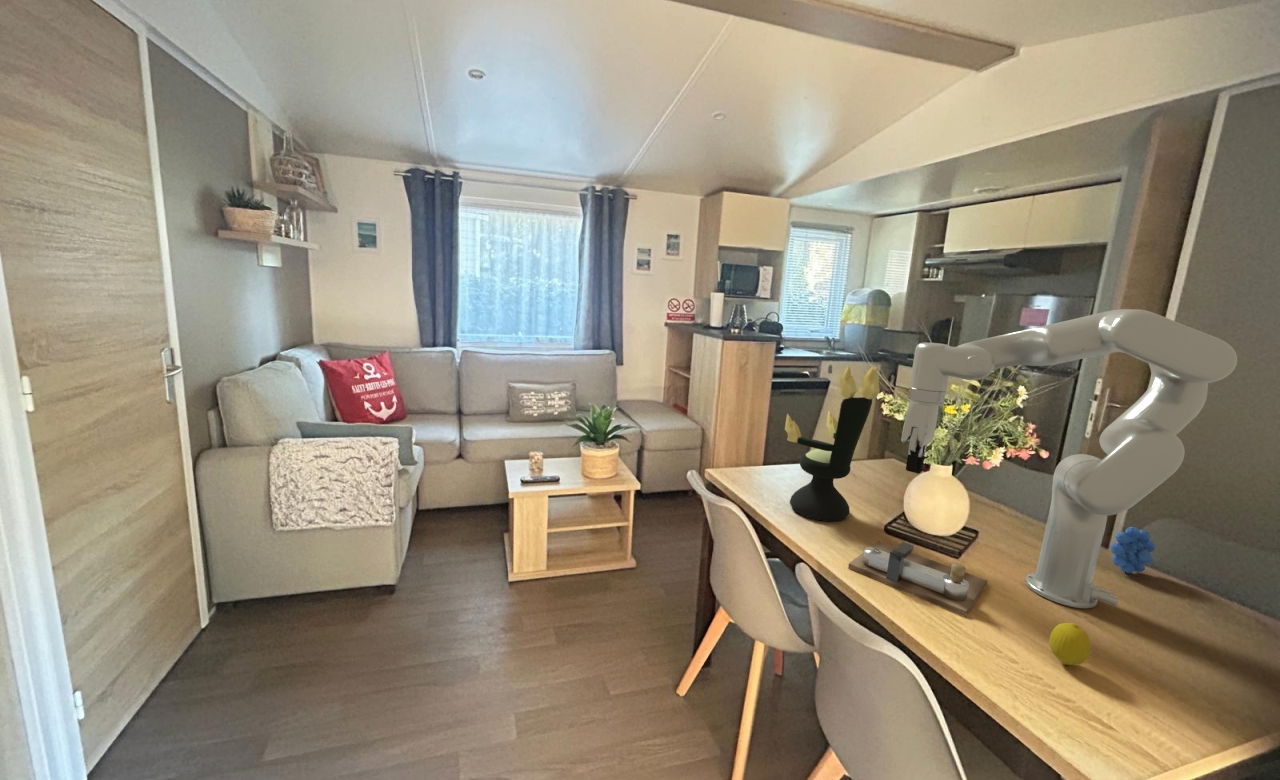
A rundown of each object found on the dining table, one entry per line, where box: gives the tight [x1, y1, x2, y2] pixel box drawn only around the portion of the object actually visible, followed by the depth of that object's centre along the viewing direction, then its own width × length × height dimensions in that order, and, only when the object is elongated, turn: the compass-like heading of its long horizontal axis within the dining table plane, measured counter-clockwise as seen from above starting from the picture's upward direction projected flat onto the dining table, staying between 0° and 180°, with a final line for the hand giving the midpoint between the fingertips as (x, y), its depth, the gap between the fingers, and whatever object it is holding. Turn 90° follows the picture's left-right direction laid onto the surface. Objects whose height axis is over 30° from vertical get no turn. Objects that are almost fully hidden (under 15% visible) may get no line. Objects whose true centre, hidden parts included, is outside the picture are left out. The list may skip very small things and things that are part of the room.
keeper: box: [886, 541, 915, 583], centre depth 116 cm, size 2×8×6 cm, turn 135°
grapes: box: [1109, 526, 1156, 574], centre depth 125 cm, size 12×7×12 cm, turn 98°
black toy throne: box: [784, 365, 880, 522], centre depth 147 cm, size 19×22×45 cm
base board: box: [848, 540, 988, 618], centre depth 118 cm, size 24×18×8 cm
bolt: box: [862, 546, 969, 600], centre depth 115 cm, size 21×5×3 cm, turn 48°
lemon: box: [1049, 622, 1092, 666], centre depth 91 cm, size 6×6×8 cm
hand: (913, 471), depth 124 cm, fingers closed
